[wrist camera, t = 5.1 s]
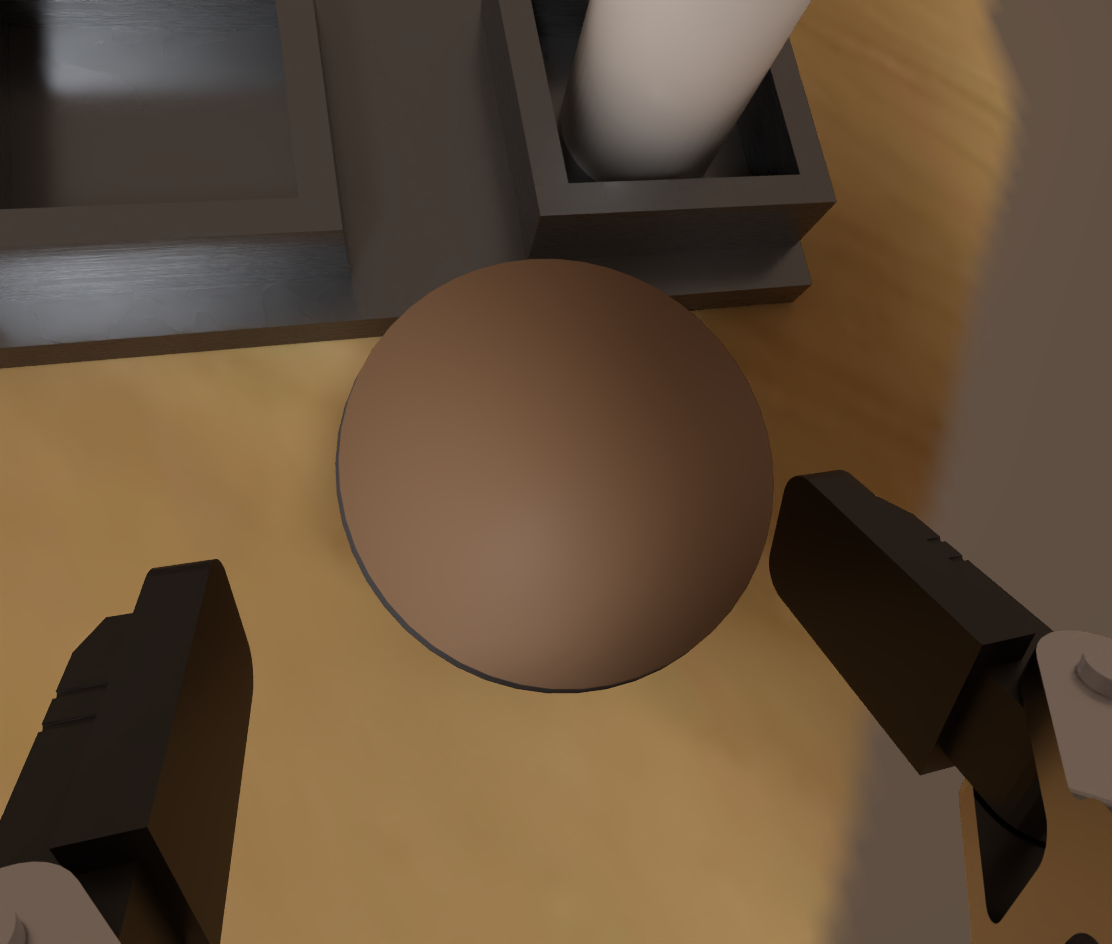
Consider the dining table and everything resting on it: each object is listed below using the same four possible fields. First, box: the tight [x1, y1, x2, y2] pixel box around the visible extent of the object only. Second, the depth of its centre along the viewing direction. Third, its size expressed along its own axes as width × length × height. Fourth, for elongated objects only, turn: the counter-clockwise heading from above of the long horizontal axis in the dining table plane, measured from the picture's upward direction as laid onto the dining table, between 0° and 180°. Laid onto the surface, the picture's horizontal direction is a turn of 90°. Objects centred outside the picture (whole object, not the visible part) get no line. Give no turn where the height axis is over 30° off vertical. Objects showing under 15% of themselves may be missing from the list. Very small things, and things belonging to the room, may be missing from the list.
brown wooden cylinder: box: [335, 259, 774, 693], centre depth 12 cm, size 4×4×10 cm
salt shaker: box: [560, 0, 811, 182], centre depth 15 cm, size 4×4×8 cm
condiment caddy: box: [0, 0, 837, 368], centre depth 17 cm, size 22×10×3 cm, turn 101°
